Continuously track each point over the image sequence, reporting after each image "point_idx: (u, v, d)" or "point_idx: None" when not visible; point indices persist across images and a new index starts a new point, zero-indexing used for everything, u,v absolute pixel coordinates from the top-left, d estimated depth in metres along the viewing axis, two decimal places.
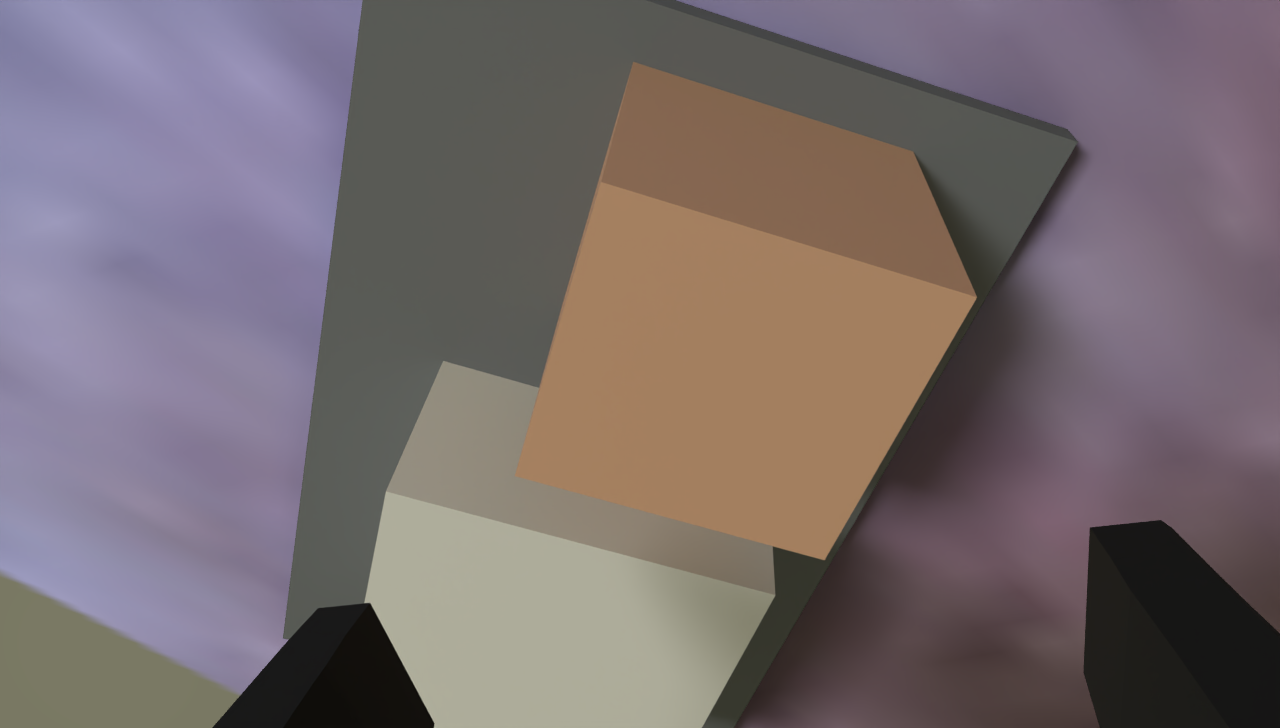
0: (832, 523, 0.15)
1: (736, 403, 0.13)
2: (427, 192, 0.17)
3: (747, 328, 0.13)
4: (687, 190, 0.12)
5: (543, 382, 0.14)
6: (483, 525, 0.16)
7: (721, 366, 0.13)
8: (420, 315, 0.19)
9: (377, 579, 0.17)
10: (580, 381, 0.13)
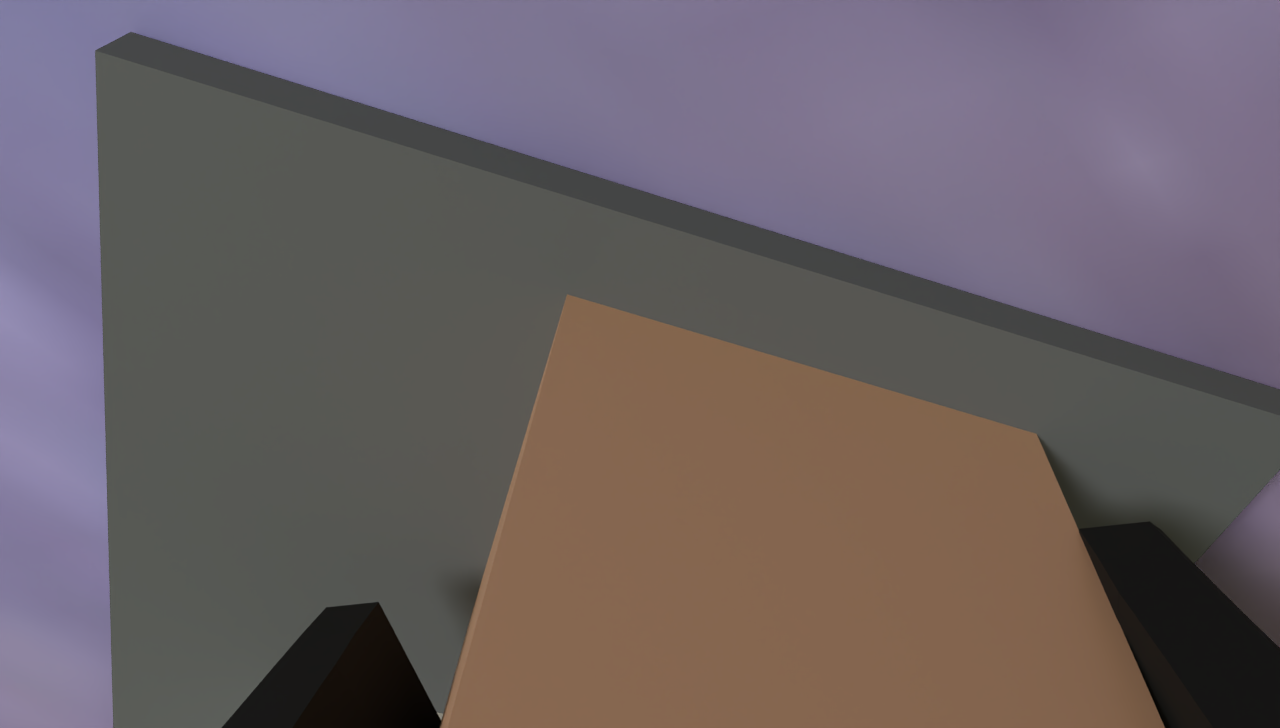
0: None
1: None
2: (246, 469, 0.11)
3: None
4: (641, 713, 0.06)
5: None
6: None
7: None
8: (256, 622, 0.12)
9: None
10: None
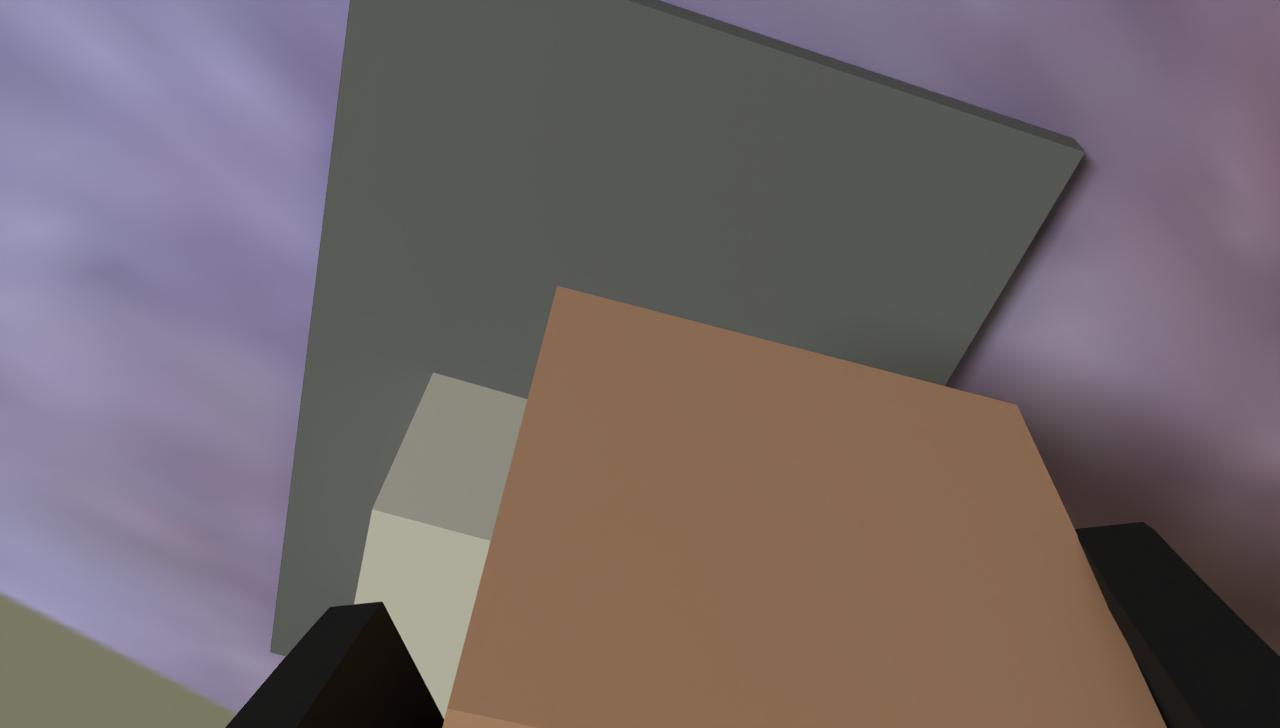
0: None
1: None
2: (417, 201, 0.17)
3: None
4: (636, 671, 0.06)
5: None
6: (473, 544, 0.16)
7: None
8: (409, 326, 0.18)
9: (363, 598, 0.17)
10: None
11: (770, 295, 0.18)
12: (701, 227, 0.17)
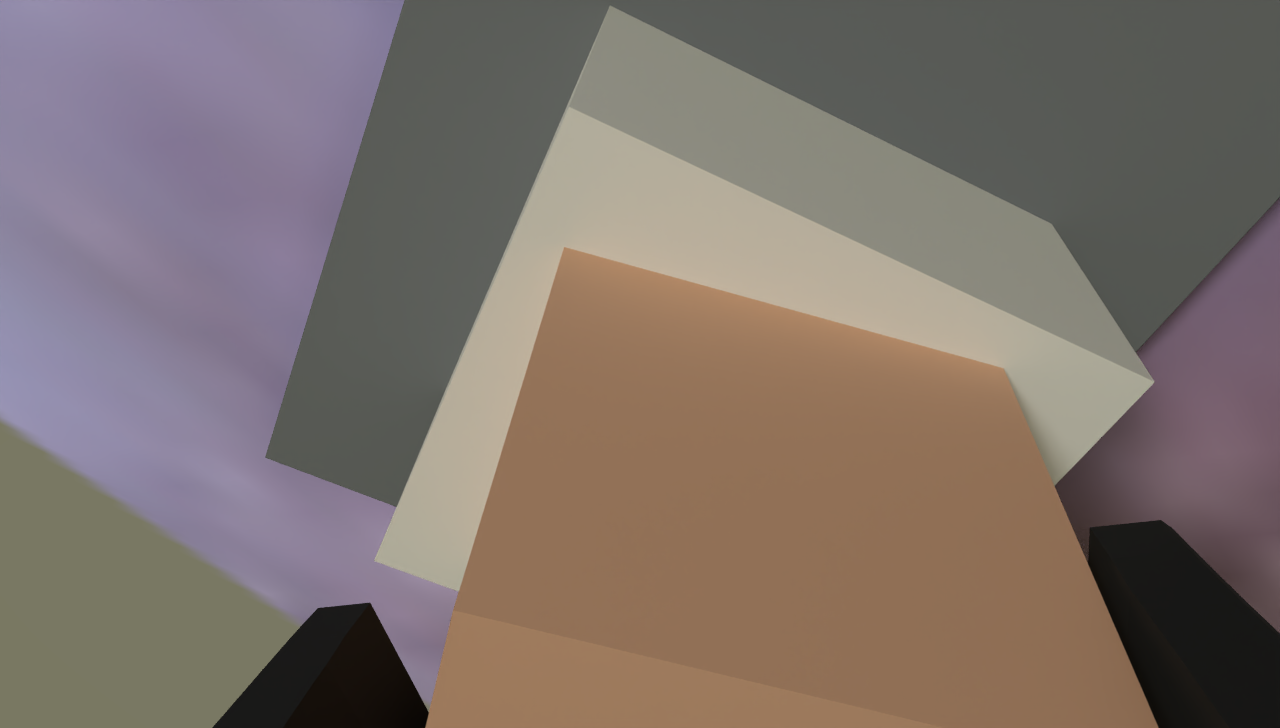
0: None
1: None
2: None
3: None
4: (628, 584, 0.07)
5: None
6: (721, 196, 0.10)
7: None
8: None
9: (506, 289, 0.10)
10: None
11: None
12: None
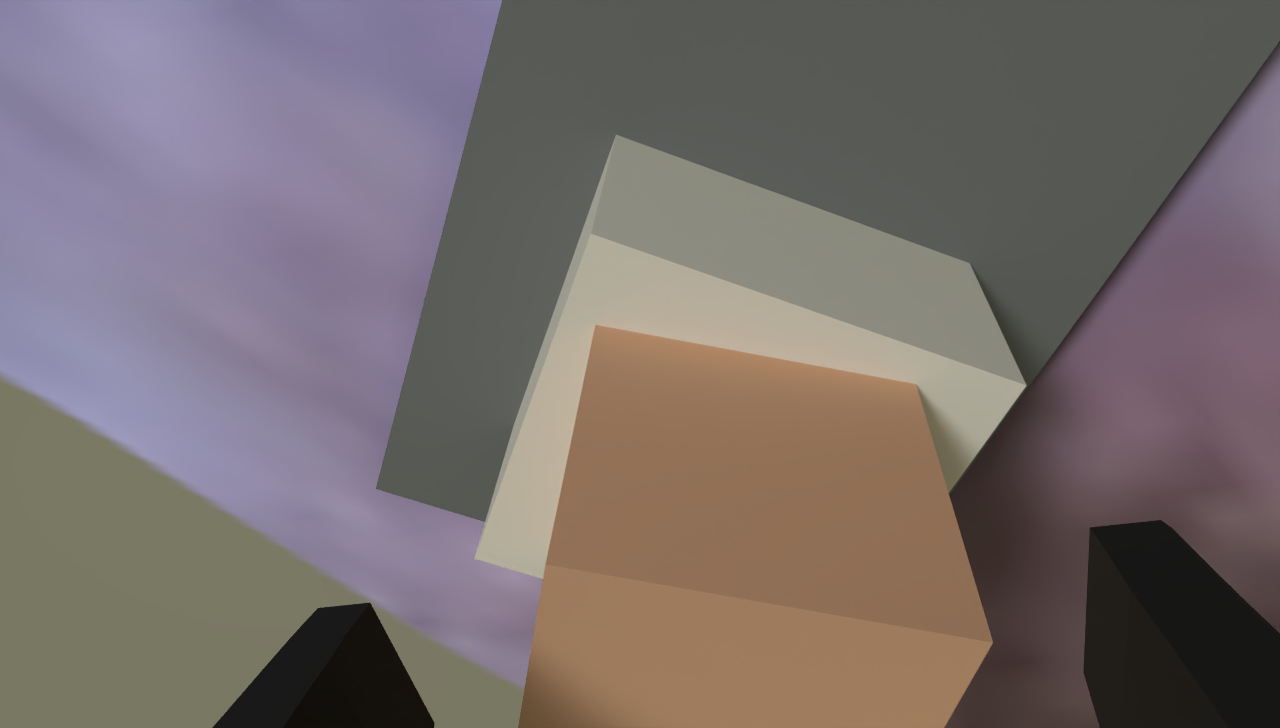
0: None
1: None
2: None
3: (733, 681, 0.11)
4: (647, 544, 0.11)
5: None
6: (700, 283, 0.14)
7: (710, 716, 0.12)
8: (598, 73, 0.16)
9: (557, 356, 0.15)
10: None
11: (1016, 42, 0.16)
12: None
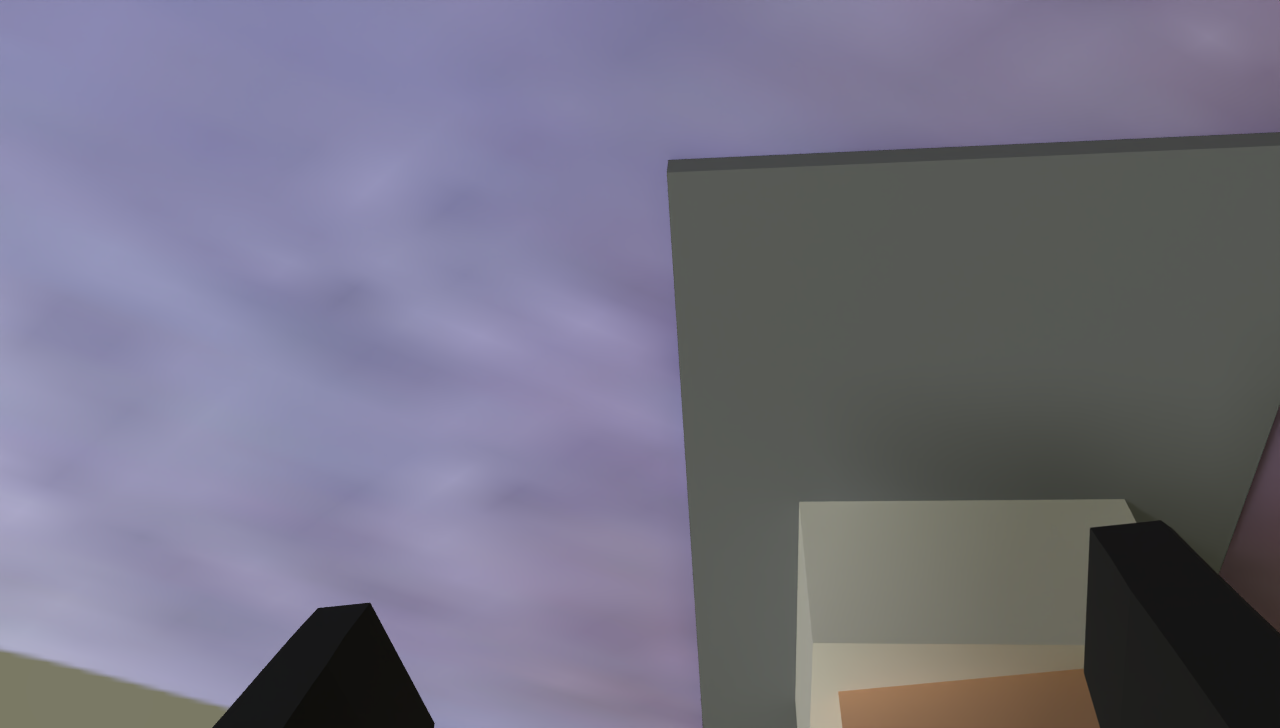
0: None
1: None
2: (757, 371, 0.20)
3: None
4: None
5: None
6: (906, 650, 0.18)
7: None
8: (771, 470, 0.21)
9: (818, 715, 0.19)
10: None
11: (1092, 353, 0.19)
12: (1012, 317, 0.19)
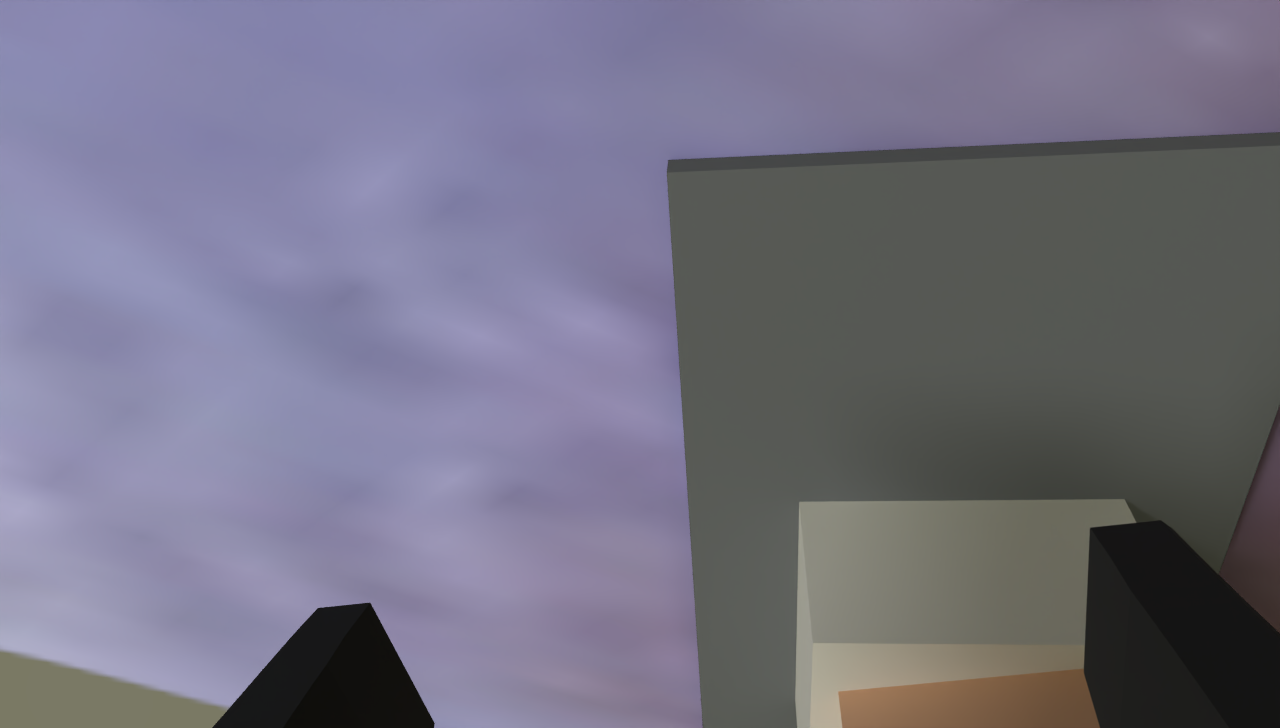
0: None
1: None
2: (757, 371, 0.20)
3: None
4: None
5: None
6: (906, 650, 0.18)
7: None
8: (771, 470, 0.21)
9: (818, 715, 0.19)
10: None
11: (1092, 353, 0.19)
12: (1012, 317, 0.19)
